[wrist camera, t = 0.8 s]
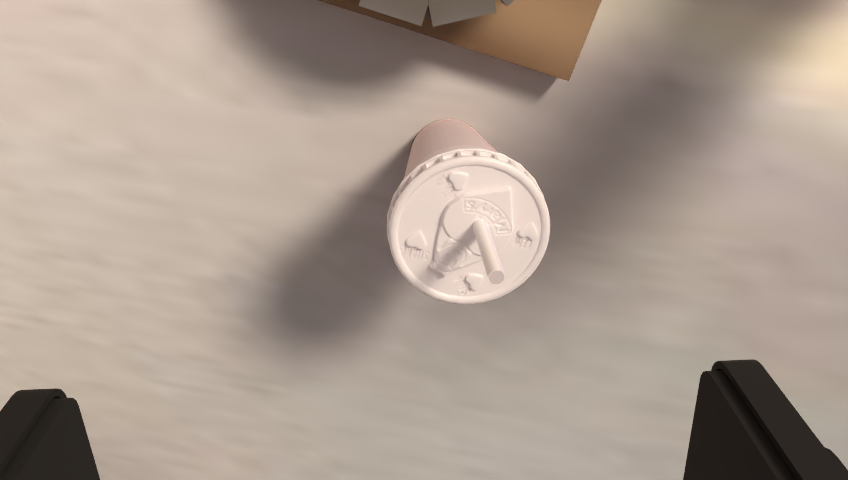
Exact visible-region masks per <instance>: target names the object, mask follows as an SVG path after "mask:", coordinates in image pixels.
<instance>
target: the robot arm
mask: <svg viewBox="0 0 848 480" xmlns="http://www.w3.org/2000/svg"><path fill="white" fill-rule="evenodd" d="M0 480H100V478H99V474H98V471H97V467H96V464H95V460H94V457H93V453H92V450H91V447H90V443H89V440H88V436H87V433H86V429H85V426H84V422H83V419H82V416H81V412H80V409H79V406H78V403H77V401H76V400H75V399H74V398H67V397H66V395H65V393H64V392H63V391H62V390H61V389H35V390H20V391H17V392H16V393H15V394H14V395H13V396H12V397H11V398H10V399H9V401H8V402H7V403H6V405H5V406H4V407H3V408H2V410H1V411H0ZM683 480H848V470H847V469H846V468H845V466H844V465H843V464H842V462H841V461H840V460H839V458H838V457H837V456H836V455H835V454H834V453H833V452H832V451H831V450H829V449H827V448H825V447H824V446H823V445H822V444H821V442H820V441H819V440H818V438H817V437H816V436H815V434H814V433H813V432H812V431H811V429H810V428H809V427H808V425H807V424H806V423H805V421H804V420H803V419H802V417H801V416H800V415H799V413H798V412H797V411H796V409H795V408H794V407H793V405H792V404H791V403H790V402H789V400H788V399H787V398H786V396H785V395H784V394H783V392H782V391H781V390H780V388H779V387H778V386H777V384H776V383H775V382H774V380H773V379H772V378H771V376H770V375H769V374H768V373H767V371H766V370H765V369H764V367H763V366H762V365H761V364H760V363H759V362H758V361H756V360H731V361H717V362H715V363H714V365H713V366H712V370H711V371H705V372H703V373H702V375H701V378H700V383H699V389H698V395H697V401H696V406H695V412H694V418H693V424H692V430H691V436H690V442H689V448H688V454H687V460H686V466H685V472H684V478H683Z"/></svg>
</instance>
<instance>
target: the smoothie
mask: <svg viewBox="0 0 848 480" xmlns="http://www.w3.org/2000/svg"><path fill="white" fill-rule="evenodd" d="M549 236H550V216H549V211H548V207H547V204H546V202H545V199H544V195H543V194H542V192H541V190H540V188H539V186H538V184H537V182H536V180H535V178H534V177H533V176H532V175H531V174H530V173H529V172H528V171H527V170H526V169H525V168H524V167H523V166H522V165H521V164H520V163H518V162H516V161H514V160H513V159H511V158H509V157H507V156H506V155H504V154H502V153H498V152H497V151H496V150H495V149H494V148H493V147H492V146H491V145H490V144H489V143H487V142H486V141H485V140H484V139H483V138H482V137H481V136H480V135H479V134H478V133H477V132H476V131H475V130H474V129H473V128H472V127H471V126H469V125H468V124H466V123H464V122H462V121H459V120H455V119H442V120H438V121H435V122H432V123H430V124H428V125H427V126H425V127H424V128H423V129H422V130H421V131H420V132H419V133H418V134H417V136H416V138H415V139H414V141H413V144H412V147H411V152H410V156H409V160H408V164H407V168H406V172H405V176H404V179H403V181H402V182H401V184H400V185H399V187H398V189H397V190H396V192H395V194H394V195H393V197H392V200H391V204H390V207H389V211H388V214H387V238H388V241H389V245H390V250H391V254H392V257H393V259H394V262H395V264H396V266H397V267H398V269H399V271H400V272H401V274H402V275H403V276H404V278H405V279H406V280H407V281H408V282H409V283H410V284H411V285H412V286H414V287H415V288H416V289H418V290H419V291H420V292H422V293H424V294H425V295H427V296H430V297H432V298H434V299H437V300H440V301H444V302H448V303H453V304H477V303H482V302H487V301H491V300H494V299H496V298H499V297H501V296H503V295H506V294H507V293H509V292H511V291H513V290H514V289H516V288H517V287H519V286H520V285H521V284H522V283H523V282H525V281H526V280H527V279H528V278H529V277H530V276H531V274H532V273H533V272H534V271H535V269H536V268H537V267H538V265H539V264H540V262H541V260H542V258H543V256H544V254H545V251H546V248H547V245H548V241H549Z"/></svg>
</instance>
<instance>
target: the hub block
mask: <svg viewBox="0 0 848 480" xmlns="http://www.w3.org/2000/svg"><path fill="white" fill-rule="evenodd" d="M320 1H323V2H326V3H329V4H332V5H335V6H338V7H342V8H345V9H348V10H351V11H354V12H357V13H360V14H363V15H366V16H369V17H372V18H376V19H379V20H382V21H385V22H388V23H391V24H394V25H397V26H400V27H403V28H406V29H410V30H413V31H416V32H419V33H422V34H425V35H428V36H431V37H434V38H437V39H440V40H444V41H447V42H450V43H453V44H456V45H459V46H462V47H465V48H468V49H471V50H474V51H477V52H481V53H484V54H487V55H490V56H493V57H496V58H499V59H502V60H505V61H508V62H511V63H515V64H518V65H521V66H524V67H527V68H530V69H533V70H536V71H539V72H542V73H545V74H549V75H552V76H555V77H558V78H561V79H564V80H567V81H569V79H570V77H571V74H572V72H573V69H574V67H575V64H576V62H577V59H578V57H579V55H580V52H581V50H582V47H583V45H584V42H585V40H586V37H587V35H588V32H589V30H590V27H591V25H592V22H593V20H594V17H595V15H596V12H597V10H598V8H599V5H600V3H601V0H320Z"/></svg>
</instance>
